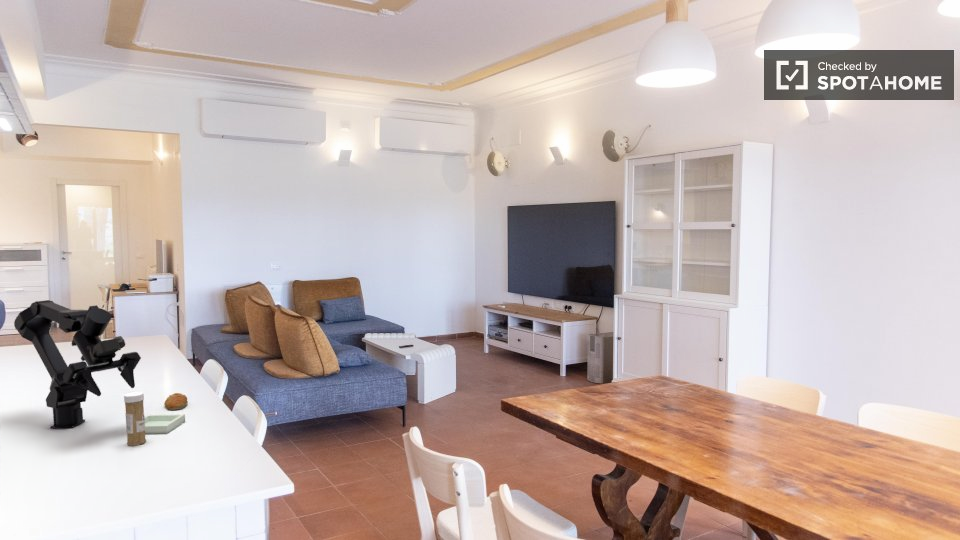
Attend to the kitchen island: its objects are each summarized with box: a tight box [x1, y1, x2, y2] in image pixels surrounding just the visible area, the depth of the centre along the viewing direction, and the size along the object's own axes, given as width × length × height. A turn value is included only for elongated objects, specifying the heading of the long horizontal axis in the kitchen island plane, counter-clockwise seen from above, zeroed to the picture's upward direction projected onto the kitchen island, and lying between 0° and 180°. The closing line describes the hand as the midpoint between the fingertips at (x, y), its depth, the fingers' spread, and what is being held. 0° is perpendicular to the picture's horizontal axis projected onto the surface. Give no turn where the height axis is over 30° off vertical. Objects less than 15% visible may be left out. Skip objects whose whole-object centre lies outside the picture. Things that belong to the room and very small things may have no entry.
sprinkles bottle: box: [123, 391, 147, 447], centre depth 171 cm, size 5×5×13 cm
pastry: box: [163, 392, 189, 411], centre depth 206 cm, size 9×7×4 cm
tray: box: [144, 413, 186, 435], centre depth 185 cm, size 11×11×2 cm
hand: (117, 391), depth 174 cm, fingers open, 9 cm apart
